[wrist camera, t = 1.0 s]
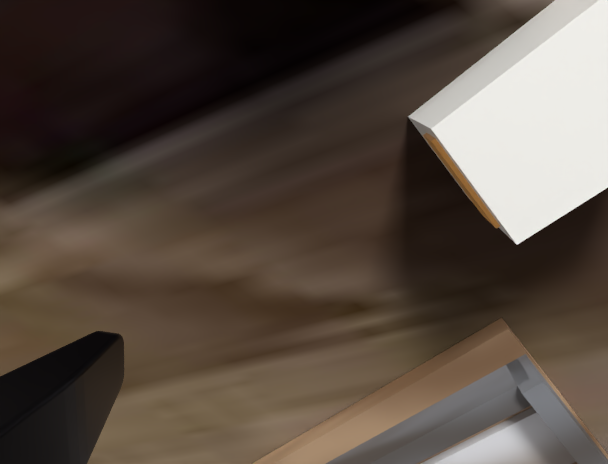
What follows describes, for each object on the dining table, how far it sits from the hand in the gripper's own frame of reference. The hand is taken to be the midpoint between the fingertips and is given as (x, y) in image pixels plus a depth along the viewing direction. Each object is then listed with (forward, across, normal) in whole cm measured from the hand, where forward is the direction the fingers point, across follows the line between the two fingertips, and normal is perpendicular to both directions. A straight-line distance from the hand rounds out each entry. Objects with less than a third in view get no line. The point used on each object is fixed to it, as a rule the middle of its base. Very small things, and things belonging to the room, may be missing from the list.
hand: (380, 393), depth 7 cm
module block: (+13, -6, -5) cm, 15 cm away
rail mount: (+12, -7, +15) cm, 20 cm away
